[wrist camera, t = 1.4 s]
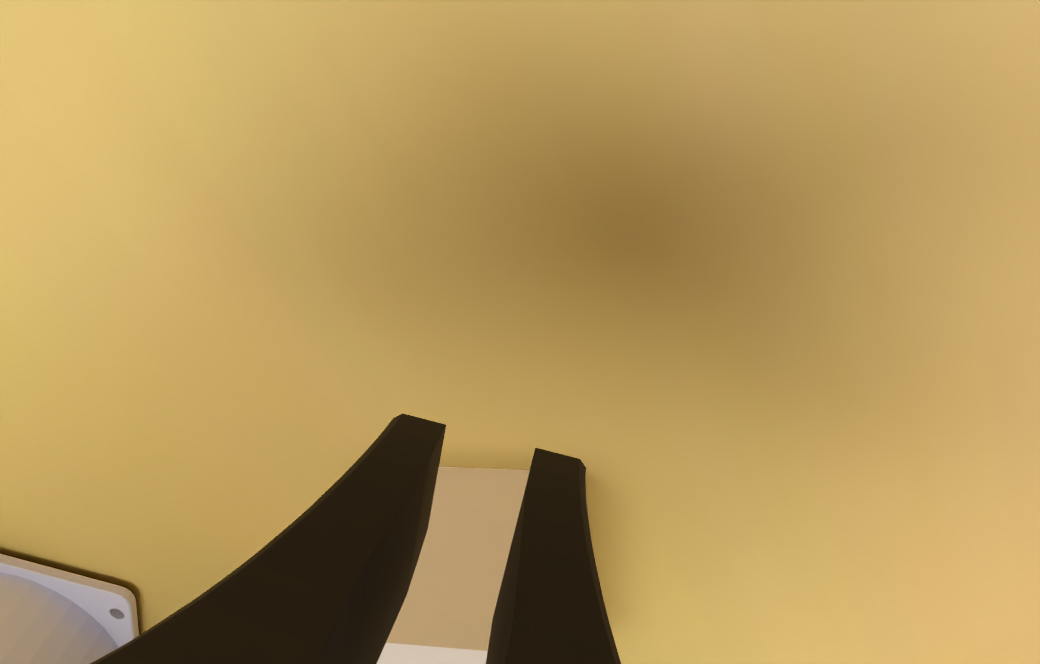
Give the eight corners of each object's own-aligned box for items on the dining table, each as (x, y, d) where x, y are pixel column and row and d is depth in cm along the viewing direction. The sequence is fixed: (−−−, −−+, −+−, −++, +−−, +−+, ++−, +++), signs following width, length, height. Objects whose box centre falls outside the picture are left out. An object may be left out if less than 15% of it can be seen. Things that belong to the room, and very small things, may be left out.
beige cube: (408, 606, 29) (344, 787, 25) (372, 460, 26) (290, 634, 21) (599, 620, 28) (571, 814, 23) (585, 469, 25) (550, 657, 20)
